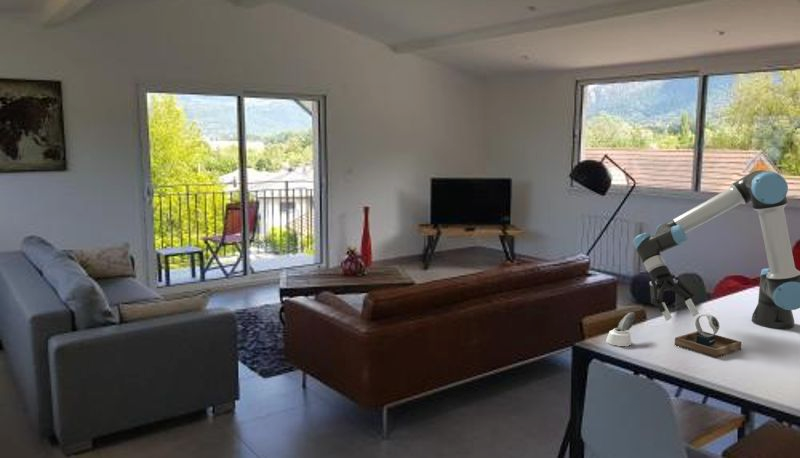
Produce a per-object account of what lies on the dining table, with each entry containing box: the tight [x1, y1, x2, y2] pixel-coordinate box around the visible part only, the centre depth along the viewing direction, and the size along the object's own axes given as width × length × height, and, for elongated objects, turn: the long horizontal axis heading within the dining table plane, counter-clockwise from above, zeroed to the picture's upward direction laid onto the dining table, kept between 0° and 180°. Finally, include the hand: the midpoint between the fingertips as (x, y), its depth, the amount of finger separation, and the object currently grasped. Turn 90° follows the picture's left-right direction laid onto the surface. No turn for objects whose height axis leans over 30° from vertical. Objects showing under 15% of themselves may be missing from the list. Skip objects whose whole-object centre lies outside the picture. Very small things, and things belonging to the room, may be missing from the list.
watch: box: [694, 313, 720, 347], centre depth 230 cm, size 6×8×11 cm
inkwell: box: [605, 311, 636, 347], centre depth 237 cm, size 9×18×10 cm, turn 139°
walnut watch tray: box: [674, 330, 743, 359], centre depth 229 cm, size 16×16×3 cm
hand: (682, 317), depth 240 cm, fingers open, 13 cm apart
